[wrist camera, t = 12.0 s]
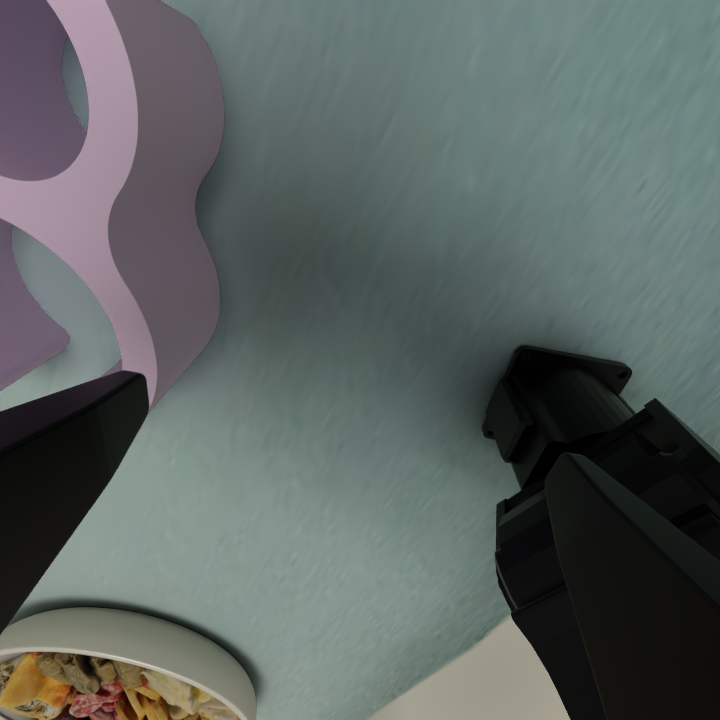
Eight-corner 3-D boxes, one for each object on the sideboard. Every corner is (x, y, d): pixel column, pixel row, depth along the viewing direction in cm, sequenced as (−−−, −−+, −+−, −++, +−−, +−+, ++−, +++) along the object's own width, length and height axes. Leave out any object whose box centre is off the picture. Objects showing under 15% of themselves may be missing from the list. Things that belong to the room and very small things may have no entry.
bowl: (25, 552, 35) (-62, 652, 28) (310, 655, 42) (295, 755, 35) (-9, 667, 49) (-73, 753, 42) (211, 731, 55) (186, 813, 49)
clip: (-29, -103, 14) (-344, -286, 8) (292, 76, 16) (236, 38, 10) (-10, 338, 23) (-146, 407, 17) (190, 413, 25) (130, 498, 19)
